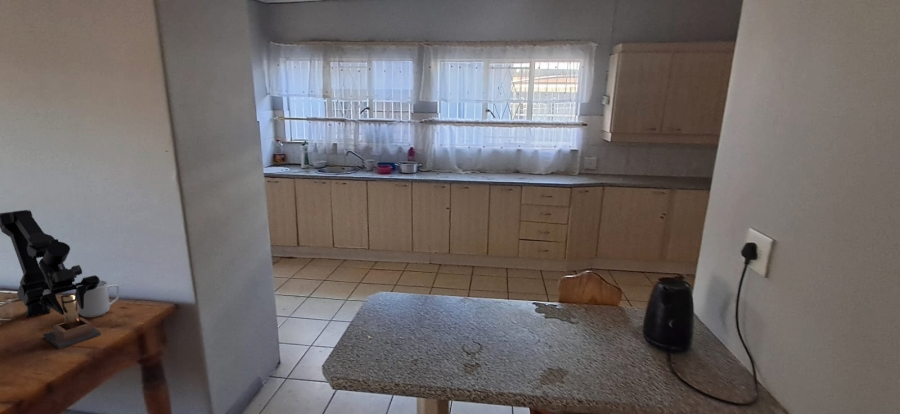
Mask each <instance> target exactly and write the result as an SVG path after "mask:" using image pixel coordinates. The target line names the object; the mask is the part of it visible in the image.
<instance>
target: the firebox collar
mask: <svg viewBox="0 0 900 414" xmlns="http://www.w3.org/2000/svg"><path fill="white" fill-rule="evenodd" d="M79 322H80V326H78V327H75V328H72V329H68V330H66V327H65V321H64V322H62V323H58V324H54V325H53V331H51V332H47V333H43V334H42V337H43V338H44V339H45V340H46V339H47V341H48V342H49V343H50V342H51V344H52V345H53V346H54V347H56V348H57V349H62V348H65V347H69V346H71V345H74V344H78V343H81V342H84V341H87V340H90V339H92V337H93V338H96V337H98V336H99V337H100V336H101V331H99V330H97V329H96V328H94V327H93V323H92V322H90V321H89V320H87V319H86V318H85V317H83V316H82V317H81V316H80V317H79ZM80 341H81V342H80Z"/></svg>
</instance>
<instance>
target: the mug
mask: <svg viewBox="0 0 900 414" xmlns="http://www.w3.org/2000/svg"><path fill="white" fill-rule="evenodd" d="M99 280H100V282H99V284H98V286H97V288H95V289H93V290H89V291H87V292H86V293H85V294H84V308H83V309H81V308H80V306H79V304H78V303H77V309H78V315H80V316H82V318H96V317H100V316H103V315H105V314H107V313H108V312H109V310H111V306H112V305H113V304H114V303H115V302H117V301H118V300H119V298H120V292H119V291H120V290H119V286H120V285H119V284H109V285H108V281H106V280H101V279H99ZM112 287H113V288H114V287H116V297H115V298H114V299H113V300H112V301H111V302H110V295H109V294H110V293H109V289H110V288H112ZM106 312H107V313H106Z"/></svg>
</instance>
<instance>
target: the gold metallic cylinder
mask: <svg viewBox="0 0 900 414" xmlns="http://www.w3.org/2000/svg"><path fill="white" fill-rule="evenodd" d="M60 300H61V307H62V309H63V312H64V315H63V320H64V322H65V327H66V330H68V329H72V328H75V327H78V326H80V322H79V318H80V316H79V308H78V302H77V299H76V296H75V293H66V294H64V295H61V296H60Z"/></svg>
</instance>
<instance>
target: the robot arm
mask: <svg viewBox="0 0 900 414" xmlns="http://www.w3.org/2000/svg"><path fill="white" fill-rule="evenodd" d="M32 213H33V212H32V211H31V210H29V209H28V210H27V209H24V210H16V211H15V210H14V211H9V212H8V211H7V212H0V230H1V231H0V232H1V233H3V234H4V235H6V236H8V237H9V238H10V240H11V243H12V246H13V248H14V251H15V254H16V257H17V259H18V263H19V265H20V268H21V271H22V274H23V275H22V276H21V278H20V281H19V284H20V285H19V287H18V290H17V293H16V294H17V297H18V299H19V300H20V301H22V302H23V304H24V306H26V313H25V316H24V317H25V318H31V317H35V316H42V315H46V314H50V313H51V311H52V310H54V311H56V313H58V314H59V315H62V316H64V312H63V308H62V304H60V302H59V301H58V298H57V296H56V295H58V294H62V293H66V292H70V291H71V292H72V291H75V293H74V294H75V296H76V302H77V305H78V304H79V306H80V308H81V309H83V308H84V294H85V293H86V292H87V291H89V290H93V289H95V288H97V286H98V284H99V282H100V280H101V279H100V277H99V276H97V275H95V274H94V275H90V276H86V277H82V279H81V281H79V282H76V283H74V282H75V281H76V278H77V277H78V276H81V275H82V274H83V270H82V267H81V265H80V264H78V265H77V264H76V265H73V266H71V268H69V269H68V268H66V267H65V262H66V260H67V257H68V255H69V253H70V251H71V247H70V245H68V244H67V243H66V242H63V241H59V239H58V238H55V237H53V236H52V234H51V235H50V234H47V233H45V232H44V231H43V229H42V228H41V227H40V225H39V224H38V223H37V221H36V220H35V218H34V217H33V214H32ZM40 258H41V259H40ZM38 259H40V260H39V261H38ZM51 309H52V310H51Z"/></svg>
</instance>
